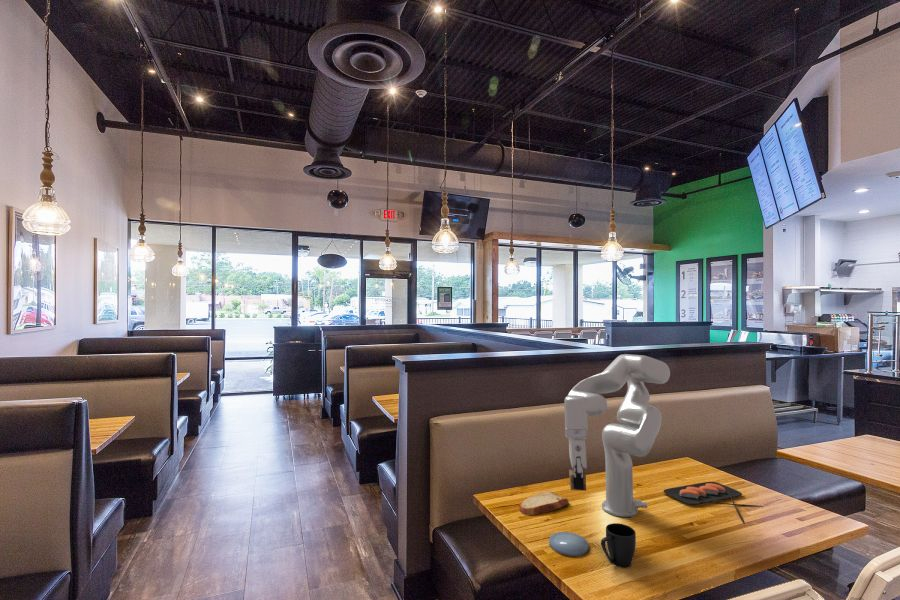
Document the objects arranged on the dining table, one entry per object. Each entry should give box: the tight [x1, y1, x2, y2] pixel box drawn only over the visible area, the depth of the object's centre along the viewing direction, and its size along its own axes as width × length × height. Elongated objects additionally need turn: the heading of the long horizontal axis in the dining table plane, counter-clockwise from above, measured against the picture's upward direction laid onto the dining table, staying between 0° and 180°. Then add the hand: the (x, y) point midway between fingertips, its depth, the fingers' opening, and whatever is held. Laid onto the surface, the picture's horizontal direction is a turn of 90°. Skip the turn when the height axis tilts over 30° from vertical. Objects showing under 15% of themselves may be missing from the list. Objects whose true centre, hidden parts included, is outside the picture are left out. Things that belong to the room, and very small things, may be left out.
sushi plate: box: [663, 481, 764, 525], centre depth 165 cm, size 29×30×4 cm
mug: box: [600, 522, 637, 569], centre depth 126 cm, size 8×12×10 cm
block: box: [568, 469, 587, 492], centre depth 146 cm, size 5×5×5 cm
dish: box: [548, 531, 589, 557], centre depth 136 cm, size 12×12×1 cm
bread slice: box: [519, 491, 569, 516], centre depth 164 cm, size 18×18×4 cm
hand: (577, 485), depth 146 cm, fingers closed on block, 4 cm apart
